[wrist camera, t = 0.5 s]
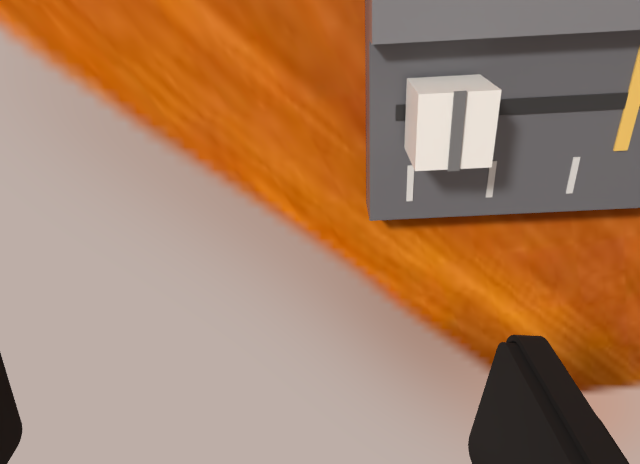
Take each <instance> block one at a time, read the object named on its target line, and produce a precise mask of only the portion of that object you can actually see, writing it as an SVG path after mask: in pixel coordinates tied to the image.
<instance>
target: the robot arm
mask: <svg viewBox="0 0 640 464" xmlns="http://www.w3.org/2000/svg"><path fill="white" fill-rule="evenodd" d="M21 435H22V423H21V420H20V417H19V414H18V410H17V407H16V403H15V400H14V397H13V393H12V390H11V387H10V383H9V380H8V377H7V374H6V370H5V367H4V363H3V360H2V357H1V353H0V464H7V463H8V461H9V460H10V458H11V456H12V455H13V453H14V451H15V450H16V448H17V446H18V444H19V442H20V439H21ZM468 446H469V455H470V458H471V461H472V464H629V463H628V461H627V459H626V458H625V456H624V455H623V453H622V452H621V450H620V449H619V447H618V446H617V444H616V443H615V441H614V440H613V438H612V437H611V435H610V434H609V432H608V431H607V429H606V428H605V426H604V425H603V423H602V422H601V420H600V419H599V418H598V417H597V415H596V414H595V413H594V411H593V410H592V408H591V407H590V405H589V403H588V402H587V400H586V399H585V397H584V396H583V394H582V393H581V391H580V390H579V388H578V387H577V385H576V384H575V382H574V381H573V379H572V378H571V376H570V375H569V373H568V371H567V370H566V368H565V367H564V365H563V364H562V362H561V361H560V359H559V358H558V356H557V355H556V353H555V352H554V350H553V349H552V347H551V346H550V344H549V343H548V341H547V340H546V339H545V338H544V337H542V336H526V335H511V336H510V337H509V338H508V339H507V341H506V342H502V343H500V344H499V345H498V348H497V351H496V354H495V357H494V360H493V363H492V366H491V370H490V373H489V376H488V379H487V382H486V386H485V389H484V392H483V395H482V398H481V402H480V405H479V408H478V411H477V414H476V417H475V420H474V424H473V427H472V430H471V433H470V436H469V444H468Z"/></svg>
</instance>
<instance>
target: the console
mask: <svg viewBox="0 0 640 464" xmlns="http://www.w3.org/2000/svg"><path fill="white" fill-rule="evenodd" d="M365 38H366V203H367V209H368V214H369V219H370V221H373V220H394V219H415V218H436V217H457V216H478V215H499V214H520V213H541V212H562V211H583V210H604V209H625V208H640V0H365ZM475 74H480V75H482V76H483V77H485V78H486V79H487V80H489V81H490V82H491V83H493V84H494V85H496V86H497V87H498V88H500V89H501V90H502V91H501V99H500V107H499V115H498V122H497V130H496V138H495V146H494V153H493V161H492V167H490V168H470V169H460V171H447V170H429V171H415V170H414V168H413V166H412V164H411V161H410V159H409V157H408V155H407V153H406V150H405V148H404V144H405V115H406V86H407V78H420V77H438V76H457V75H475Z"/></svg>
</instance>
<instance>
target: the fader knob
mask: <svg viewBox="0 0 640 464" xmlns="http://www.w3.org/2000/svg"><path fill="white" fill-rule="evenodd" d="M501 91H502V90H501V89H500V88H498V87H497V86H496V85H494V84H493V83H491V82H490V81H489V80H487V79H486V78H485V77H483V76H482V75H480V74H475V75H457V76H438V77H420V78H407V86H406V115H405V144H404V148H405V150H406V153H407V155H408V157H409V159H410V161H411V164H412V166H413V168H414V170H415V171H429V170H447V171H460V169H470V168H490V167H492V161H493V153H494V146H495V138H496V130H497V122H498V115H499V107H500V99H501Z"/></svg>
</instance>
